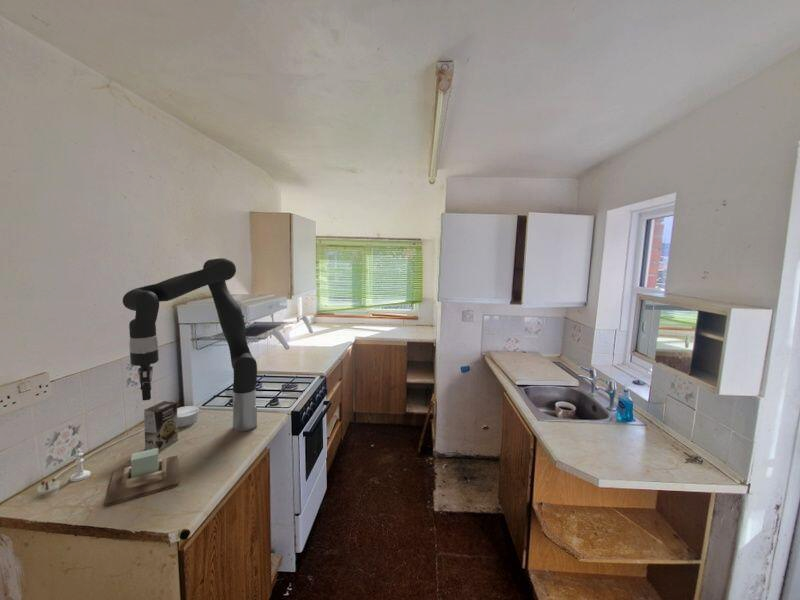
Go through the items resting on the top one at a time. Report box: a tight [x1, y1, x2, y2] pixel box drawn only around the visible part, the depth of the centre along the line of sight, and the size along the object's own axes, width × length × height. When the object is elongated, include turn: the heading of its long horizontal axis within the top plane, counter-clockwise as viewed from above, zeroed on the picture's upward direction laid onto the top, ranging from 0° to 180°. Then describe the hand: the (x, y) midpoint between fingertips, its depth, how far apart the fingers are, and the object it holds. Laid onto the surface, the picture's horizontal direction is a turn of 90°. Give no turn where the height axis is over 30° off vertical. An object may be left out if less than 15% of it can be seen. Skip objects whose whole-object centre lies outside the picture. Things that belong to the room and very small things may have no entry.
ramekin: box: [177, 405, 200, 428], centre depth 150 cm, size 11×11×5 cm
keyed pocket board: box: [105, 454, 179, 507], centre depth 111 cm, size 18×18×4 cm
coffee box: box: [143, 400, 179, 453], centre depth 131 cm, size 9×6×16 cm
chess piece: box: [69, 447, 91, 482], centre depth 110 cm, size 5×5×10 cm
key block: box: [130, 448, 160, 478], centre depth 111 cm, size 4×7×8 cm, turn 124°
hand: (147, 395), depth 113 cm, fingers open, 8 cm apart
